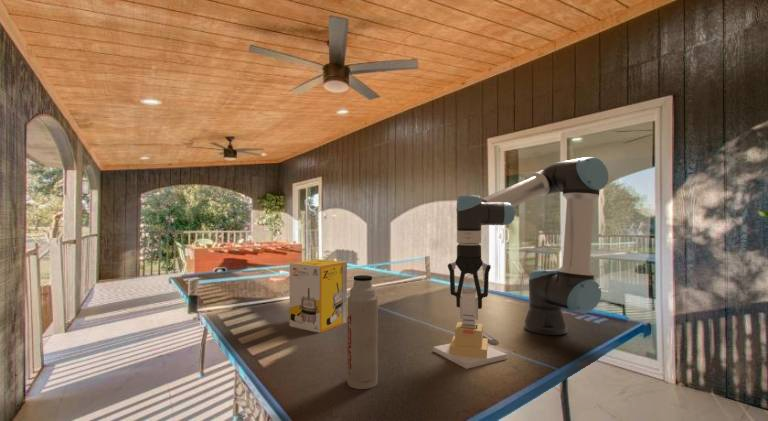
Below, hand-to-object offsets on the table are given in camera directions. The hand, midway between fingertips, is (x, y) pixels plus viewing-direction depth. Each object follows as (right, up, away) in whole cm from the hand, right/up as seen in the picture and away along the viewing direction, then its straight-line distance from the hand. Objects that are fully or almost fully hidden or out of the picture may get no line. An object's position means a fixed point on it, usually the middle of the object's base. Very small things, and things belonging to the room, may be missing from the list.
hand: (469, 318), depth 120 cm
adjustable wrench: (+8, -13, +22) cm, 27 cm away
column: (0, -9, 0) cm, 9 cm away
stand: (0, -12, 0) cm, 12 cm away
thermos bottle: (-33, -12, -20) cm, 40 cm away
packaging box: (-53, -12, +34) cm, 64 cm away
